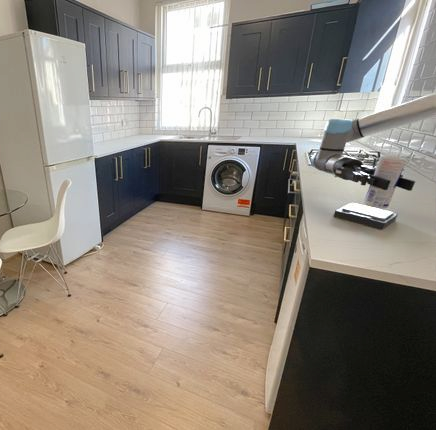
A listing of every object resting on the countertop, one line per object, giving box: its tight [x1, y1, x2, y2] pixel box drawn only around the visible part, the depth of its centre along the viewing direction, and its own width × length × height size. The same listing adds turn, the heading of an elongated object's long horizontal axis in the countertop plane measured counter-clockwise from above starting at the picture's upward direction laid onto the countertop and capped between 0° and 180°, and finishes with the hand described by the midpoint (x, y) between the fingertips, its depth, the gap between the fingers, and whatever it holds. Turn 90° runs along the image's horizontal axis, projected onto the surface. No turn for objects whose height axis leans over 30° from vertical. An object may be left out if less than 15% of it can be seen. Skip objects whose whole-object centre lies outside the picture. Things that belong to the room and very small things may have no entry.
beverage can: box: [363, 155, 407, 209], centre depth 82 cm, size 6×6×15 cm
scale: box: [333, 202, 399, 231], centre depth 101 cm, size 14×14×3 cm
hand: (399, 185), depth 78 cm, fingers closed on beverage can, 6 cm apart
